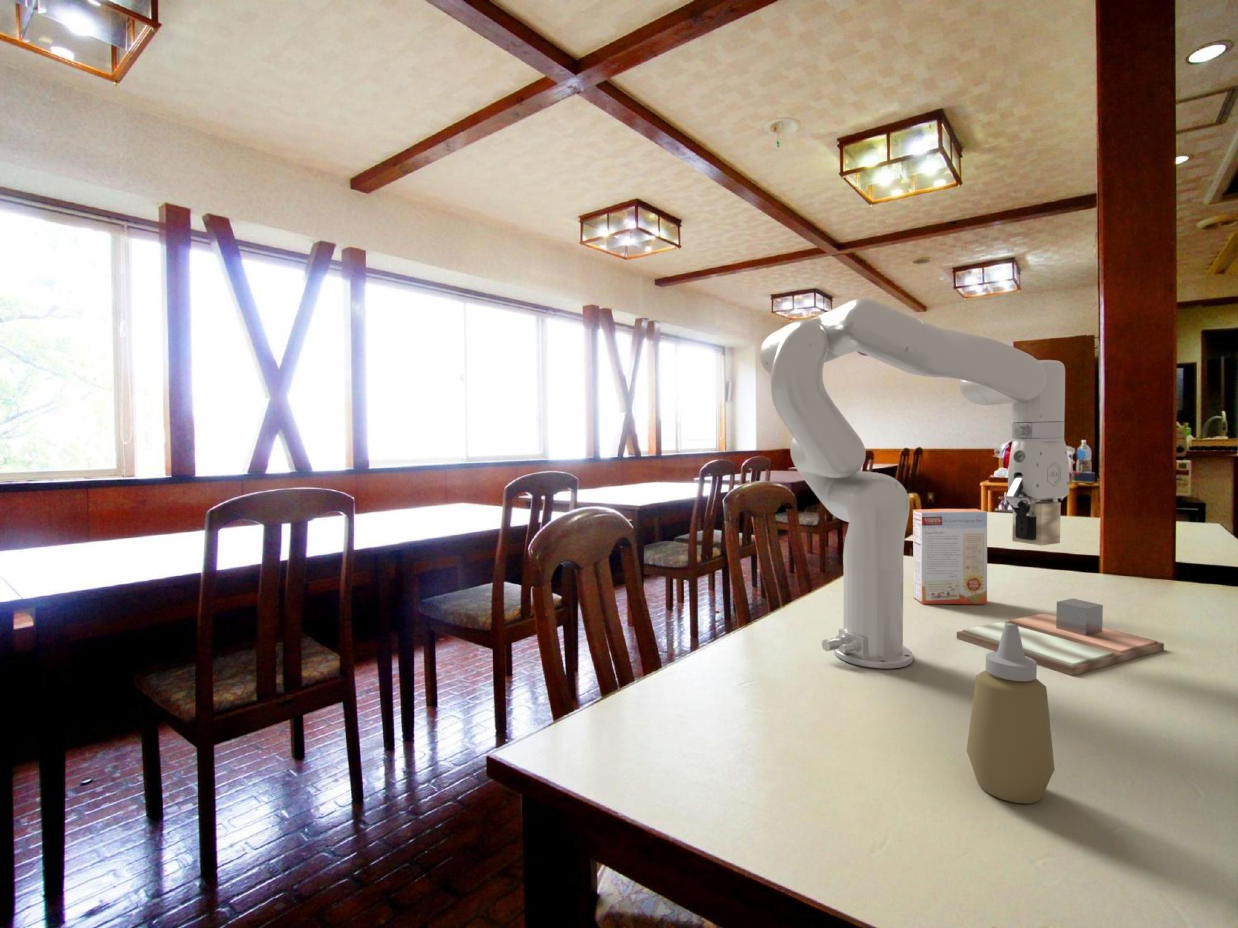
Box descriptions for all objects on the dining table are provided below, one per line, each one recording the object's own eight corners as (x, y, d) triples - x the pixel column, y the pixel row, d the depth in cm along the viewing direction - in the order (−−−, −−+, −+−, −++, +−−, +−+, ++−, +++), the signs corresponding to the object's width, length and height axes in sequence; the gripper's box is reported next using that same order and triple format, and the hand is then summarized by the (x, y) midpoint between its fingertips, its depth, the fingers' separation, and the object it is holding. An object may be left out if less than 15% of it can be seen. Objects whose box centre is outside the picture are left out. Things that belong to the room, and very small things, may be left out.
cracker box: (975, 598, 143) (976, 507, 142) (987, 605, 137) (989, 511, 136) (911, 597, 145) (912, 508, 144) (921, 604, 139) (922, 511, 138)
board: (1071, 675, 98) (1072, 665, 98) (956, 638, 116) (956, 629, 116) (1163, 649, 108) (1164, 640, 108) (1044, 619, 126) (1045, 611, 126)
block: (1041, 545, 105) (1042, 504, 105) (1012, 541, 110) (1012, 501, 109) (1059, 542, 107) (1060, 502, 107) (1030, 538, 112) (1031, 499, 111)
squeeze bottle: (1019, 768, 71) (1022, 612, 70) (1073, 810, 63) (1077, 636, 62) (950, 770, 71) (952, 614, 70) (995, 813, 63) (998, 638, 62)
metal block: (1085, 635, 111) (1086, 608, 111) (1056, 628, 116) (1056, 601, 116) (1102, 631, 113) (1102, 604, 113) (1072, 624, 118) (1073, 598, 118)
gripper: (1027, 433, 101) (1026, 545, 102) (1091, 432, 108) (1089, 536, 109) (983, 434, 108) (982, 538, 108) (1046, 432, 114) (1044, 530, 115)
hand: (1036, 536), depth 108 cm, fingers closed on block, 5 cm apart
